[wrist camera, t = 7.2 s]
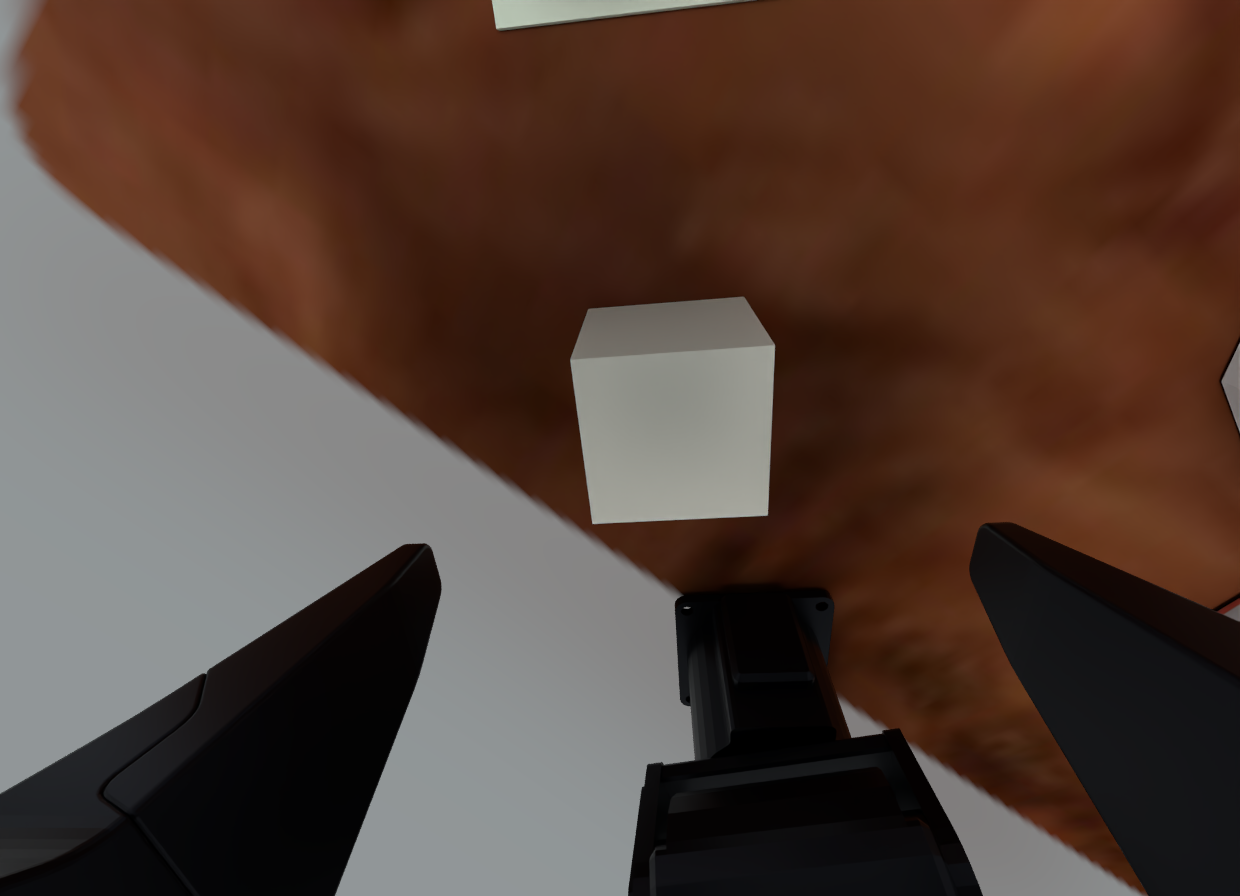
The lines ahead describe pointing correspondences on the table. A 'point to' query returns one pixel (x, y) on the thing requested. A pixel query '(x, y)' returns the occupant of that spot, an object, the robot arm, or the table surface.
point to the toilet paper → (1233, 385)
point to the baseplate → (582, 10)
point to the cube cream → (675, 410)
